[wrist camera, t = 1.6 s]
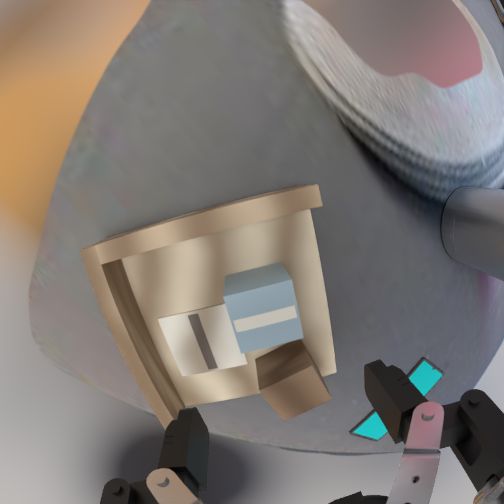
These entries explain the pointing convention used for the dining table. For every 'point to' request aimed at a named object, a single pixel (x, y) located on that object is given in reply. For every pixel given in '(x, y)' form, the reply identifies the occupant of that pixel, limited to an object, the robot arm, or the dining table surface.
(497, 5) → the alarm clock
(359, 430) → the flat teal bar
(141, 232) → the tray
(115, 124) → the dining table surface
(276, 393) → the walnut block
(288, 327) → the block
